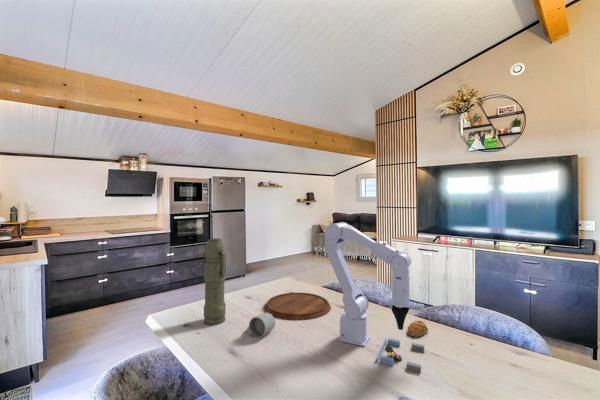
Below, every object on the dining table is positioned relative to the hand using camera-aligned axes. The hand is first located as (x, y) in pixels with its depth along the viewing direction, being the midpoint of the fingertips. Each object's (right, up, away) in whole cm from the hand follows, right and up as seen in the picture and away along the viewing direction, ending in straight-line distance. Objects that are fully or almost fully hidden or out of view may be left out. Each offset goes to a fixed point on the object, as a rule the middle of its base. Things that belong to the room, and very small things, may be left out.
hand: (400, 328), depth 101 cm
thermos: (-71, -8, +25) cm, 76 cm away
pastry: (+12, -8, +15) cm, 21 cm away
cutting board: (-36, -8, +42) cm, 56 cm away
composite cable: (-3, -8, -2) cm, 9 cm away
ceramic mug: (-50, -8, +14) cm, 53 cm away
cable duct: (0, -8, -3) cm, 8 cm away
